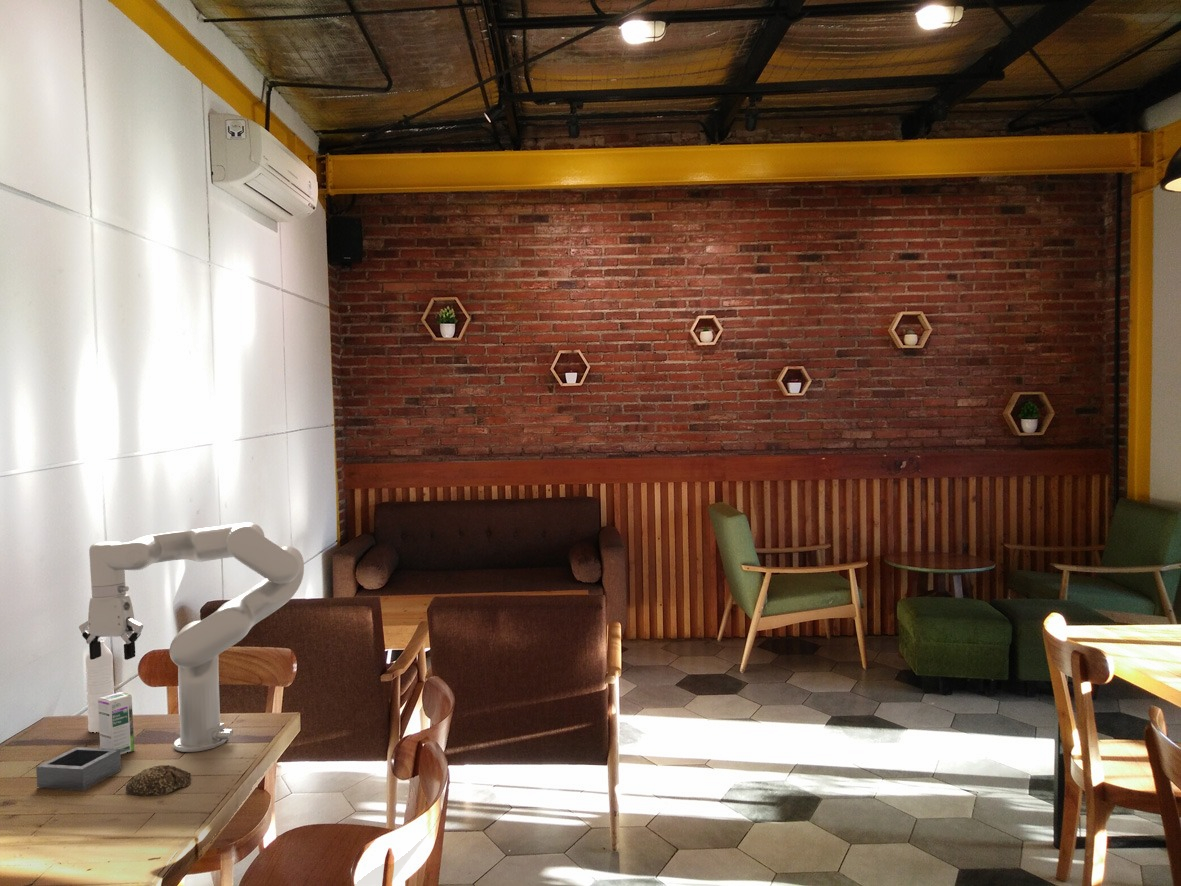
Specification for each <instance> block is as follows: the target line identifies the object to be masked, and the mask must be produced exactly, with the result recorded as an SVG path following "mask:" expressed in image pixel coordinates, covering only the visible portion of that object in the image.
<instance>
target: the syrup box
mask: <svg viewBox="0 0 1181 886" xmlns="http://www.w3.org/2000/svg"><path fill="white" fill-rule="evenodd" d="M98 715H99V732H98V733H99V746H100V747H99V748H105V749H120V756H121V755H124V754H127V752H128V753H130V752H133V751H135V739H134V738H135V735H134V734H135V733H134V718H133V717H134V715H133V697H132V694H130V693H128V692H122V691H118V692H115V693H114V694H112V695H109V696H105V697H101V698H98Z"/></svg>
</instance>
